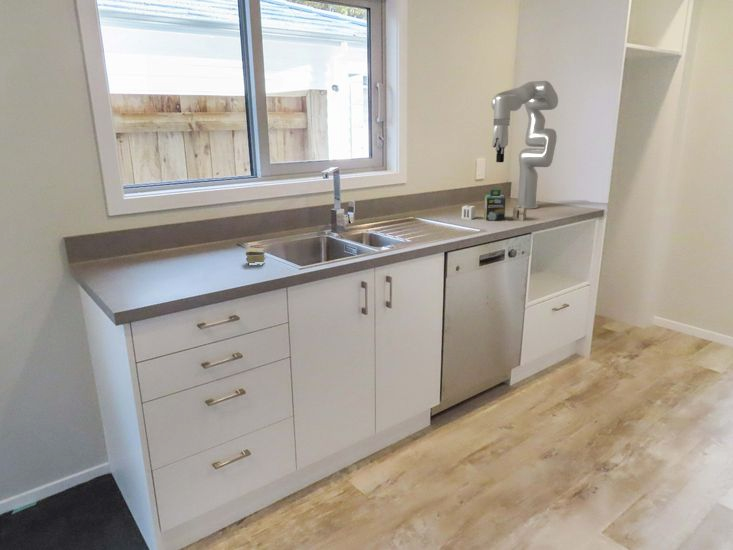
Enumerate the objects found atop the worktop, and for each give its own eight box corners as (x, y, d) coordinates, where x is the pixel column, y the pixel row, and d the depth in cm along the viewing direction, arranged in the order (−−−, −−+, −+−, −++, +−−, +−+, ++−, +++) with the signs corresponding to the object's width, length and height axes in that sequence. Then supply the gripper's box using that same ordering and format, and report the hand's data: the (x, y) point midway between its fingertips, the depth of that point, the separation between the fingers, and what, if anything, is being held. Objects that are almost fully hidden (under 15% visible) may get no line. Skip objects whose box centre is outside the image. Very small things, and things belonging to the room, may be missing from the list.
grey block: (465, 217, 263) (465, 205, 261) (474, 218, 260) (475, 206, 258) (461, 218, 259) (461, 206, 257) (470, 219, 256) (471, 207, 254)
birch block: (515, 218, 258) (516, 205, 256) (525, 218, 255) (526, 206, 254) (512, 219, 254) (513, 207, 252) (522, 220, 251) (523, 208, 249)
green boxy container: (502, 217, 260) (503, 187, 256) (505, 220, 252) (506, 190, 247) (483, 217, 261) (484, 187, 257) (485, 220, 252) (487, 190, 248)
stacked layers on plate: (271, 261, 189) (270, 246, 188) (267, 267, 181) (266, 252, 179) (244, 261, 189) (243, 247, 188) (238, 268, 181) (237, 253, 179)
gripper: (499, 122, 253) (497, 160, 259) (488, 123, 241) (487, 163, 247) (514, 121, 249) (512, 160, 255) (504, 123, 238) (502, 164, 243)
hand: (499, 162), depth 251 cm, fingers closed
